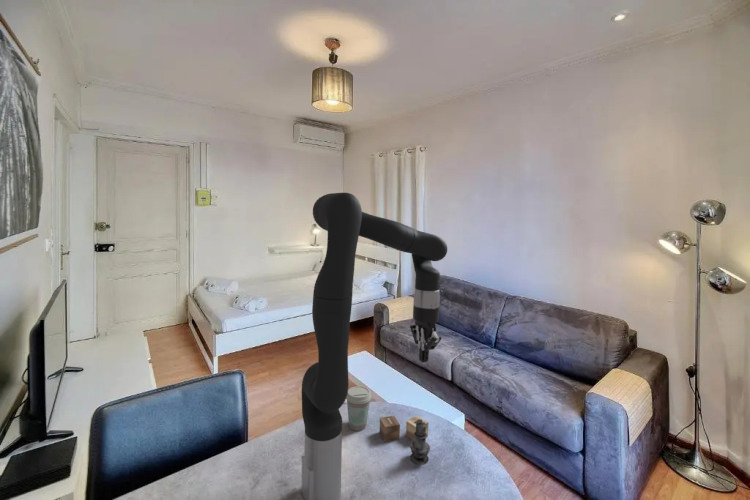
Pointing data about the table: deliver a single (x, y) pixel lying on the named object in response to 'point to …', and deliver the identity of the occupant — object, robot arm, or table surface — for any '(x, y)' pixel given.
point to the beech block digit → (414, 426)
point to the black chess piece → (420, 445)
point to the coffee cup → (358, 407)
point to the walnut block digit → (389, 428)
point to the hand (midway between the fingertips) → (423, 361)
